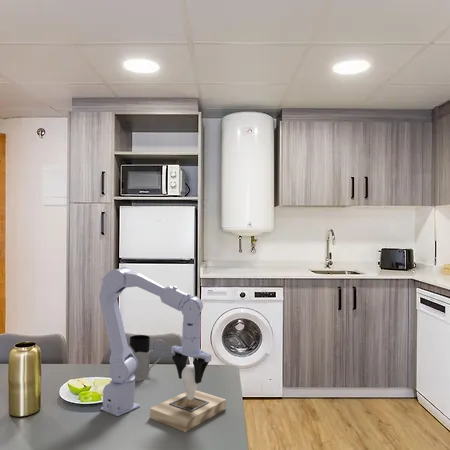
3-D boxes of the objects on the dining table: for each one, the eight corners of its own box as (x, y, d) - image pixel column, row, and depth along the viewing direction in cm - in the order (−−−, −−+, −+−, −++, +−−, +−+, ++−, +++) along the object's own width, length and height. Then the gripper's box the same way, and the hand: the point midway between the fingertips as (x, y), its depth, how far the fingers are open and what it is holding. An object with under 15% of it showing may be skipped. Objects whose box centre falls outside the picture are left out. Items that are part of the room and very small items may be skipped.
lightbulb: (200, 404, 131) (202, 368, 131) (180, 404, 131) (182, 368, 130) (199, 395, 137) (200, 361, 137) (180, 395, 137) (181, 361, 136)
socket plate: (185, 432, 121) (185, 420, 121) (149, 418, 129) (150, 407, 129) (225, 408, 137) (226, 398, 137) (191, 397, 145) (192, 388, 145)
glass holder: (125, 373, 167) (127, 335, 167) (162, 371, 171) (163, 333, 171) (127, 381, 158) (129, 340, 159) (165, 378, 163) (167, 339, 163)
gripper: (217, 338, 132) (216, 382, 132) (182, 330, 141) (180, 371, 141) (203, 342, 127) (202, 388, 126) (167, 334, 135) (165, 377, 135)
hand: (189, 380), depth 133 cm, fingers closed on lightbulb, 6 cm apart
